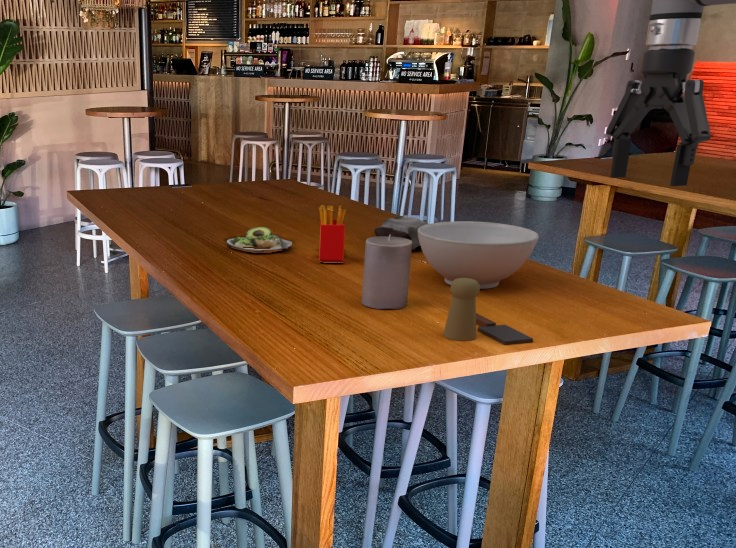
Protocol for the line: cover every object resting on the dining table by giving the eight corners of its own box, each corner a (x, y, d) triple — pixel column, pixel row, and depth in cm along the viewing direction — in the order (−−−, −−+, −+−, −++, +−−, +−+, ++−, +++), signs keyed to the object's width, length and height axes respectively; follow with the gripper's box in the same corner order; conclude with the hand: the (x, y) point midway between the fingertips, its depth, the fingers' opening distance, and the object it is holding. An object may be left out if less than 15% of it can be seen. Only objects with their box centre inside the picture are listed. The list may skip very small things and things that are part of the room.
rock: (367, 241, 232) (369, 214, 229) (401, 239, 235) (403, 212, 232) (399, 254, 216) (401, 225, 213) (435, 252, 219) (438, 223, 216)
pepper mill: (437, 332, 152) (442, 276, 148) (464, 329, 154) (470, 274, 149) (454, 342, 147) (461, 284, 142) (482, 339, 148) (489, 281, 144)
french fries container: (317, 264, 206) (319, 209, 200) (316, 256, 214) (318, 204, 209) (344, 264, 205) (347, 210, 200) (343, 256, 213) (345, 204, 208)
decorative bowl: (543, 278, 191) (551, 228, 186) (513, 304, 170) (521, 248, 166) (435, 264, 205) (440, 217, 200) (396, 286, 184) (400, 235, 179)
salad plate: (309, 250, 220) (310, 234, 219) (257, 258, 212) (257, 241, 210) (269, 239, 236) (270, 223, 234) (219, 246, 227) (218, 230, 225)
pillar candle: (378, 295, 177) (383, 228, 171) (416, 303, 170) (422, 234, 165) (352, 303, 171) (356, 234, 165) (389, 313, 164) (395, 241, 159)
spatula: (532, 342, 146) (533, 335, 146) (504, 344, 145) (505, 338, 145) (478, 315, 163) (479, 309, 162) (452, 317, 161) (453, 311, 161)
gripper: (596, 51, 140) (578, 175, 147) (716, 44, 118) (688, 190, 125) (631, 51, 142) (612, 173, 149) (755, 45, 120) (725, 188, 127)
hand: (646, 181), depth 137 cm, fingers open, 13 cm apart
